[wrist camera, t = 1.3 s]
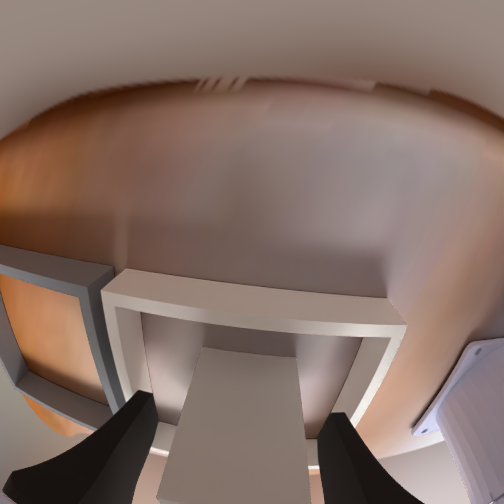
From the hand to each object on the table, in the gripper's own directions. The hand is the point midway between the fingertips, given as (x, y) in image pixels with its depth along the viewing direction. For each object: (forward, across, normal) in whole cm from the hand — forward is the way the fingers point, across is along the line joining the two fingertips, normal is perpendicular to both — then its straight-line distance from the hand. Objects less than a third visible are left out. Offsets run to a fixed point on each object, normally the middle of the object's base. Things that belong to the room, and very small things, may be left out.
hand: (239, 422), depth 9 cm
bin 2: (+2, 0, 0) cm, 2 cm away
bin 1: (+2, +11, 0) cm, 11 cm away
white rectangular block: (+2, 0, 0) cm, 2 cm away
